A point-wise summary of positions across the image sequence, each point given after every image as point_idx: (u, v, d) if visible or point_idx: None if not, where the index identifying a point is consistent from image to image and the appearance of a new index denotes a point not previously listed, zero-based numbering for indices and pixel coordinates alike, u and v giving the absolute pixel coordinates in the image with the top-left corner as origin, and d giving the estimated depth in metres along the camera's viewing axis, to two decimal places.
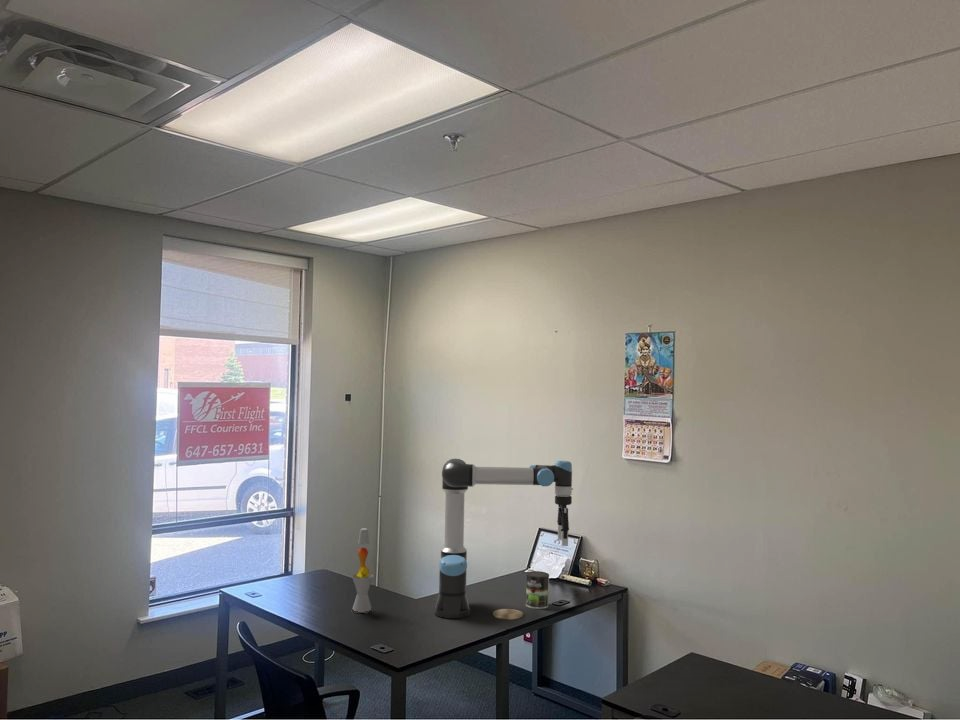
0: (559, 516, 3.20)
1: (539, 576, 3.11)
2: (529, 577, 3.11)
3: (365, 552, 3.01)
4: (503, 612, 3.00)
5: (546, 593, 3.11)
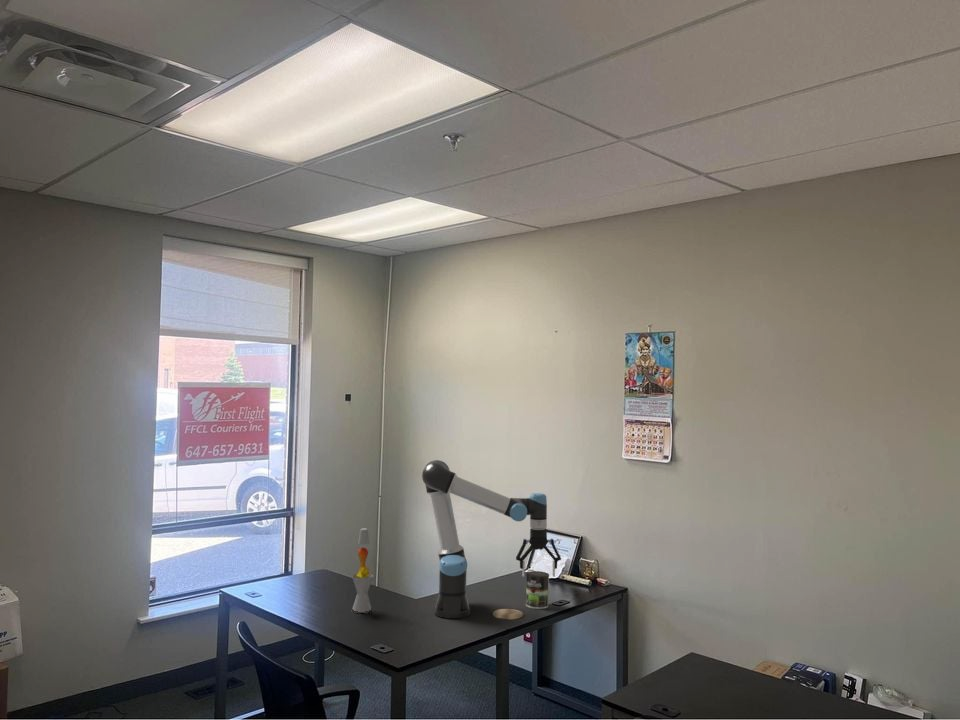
0: None
1: (539, 576, 3.11)
2: (529, 577, 3.11)
3: (365, 552, 3.01)
4: (503, 612, 3.00)
5: (546, 593, 3.11)
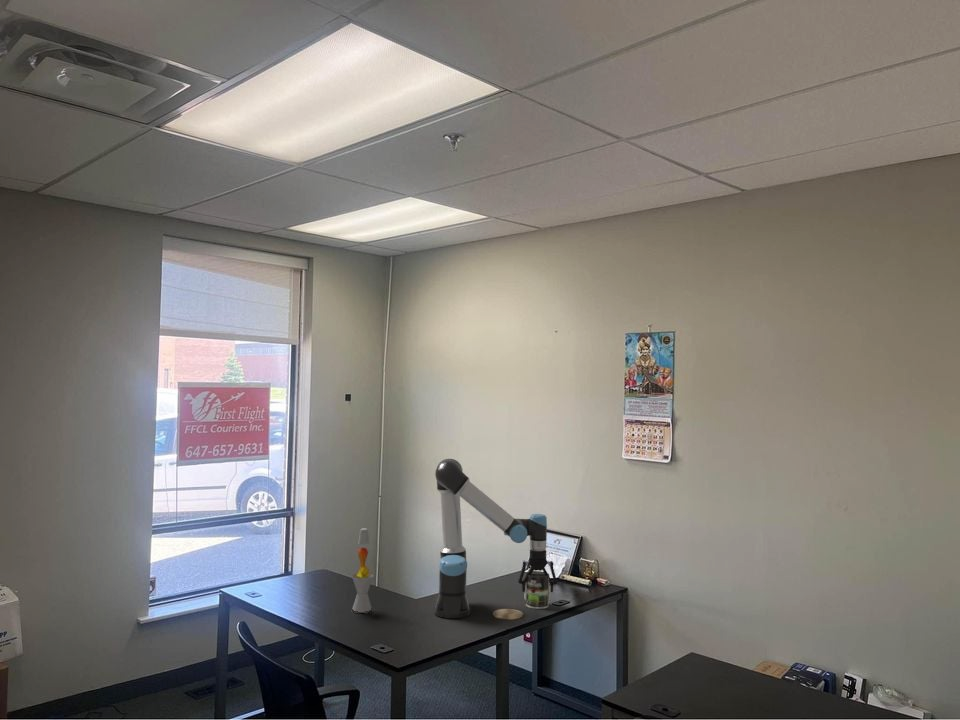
0: None
1: (539, 576, 3.11)
2: (529, 577, 3.11)
3: (365, 552, 3.01)
4: (503, 612, 3.00)
5: (546, 593, 3.11)
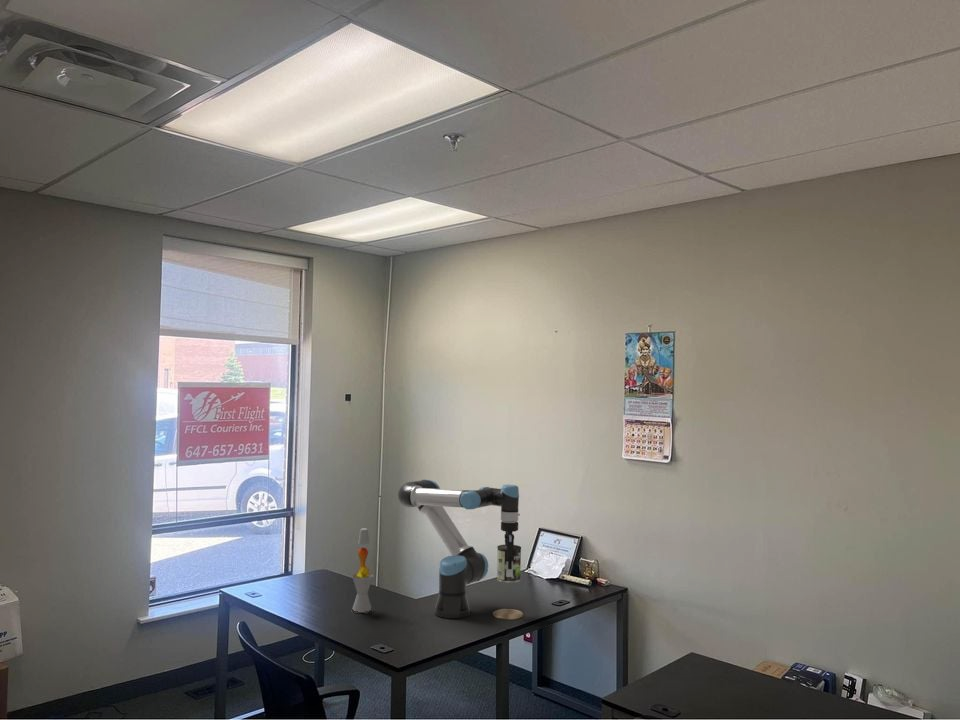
0: None
1: (517, 547, 3.01)
2: (517, 551, 2.97)
3: (365, 552, 3.01)
4: (503, 612, 3.00)
5: None
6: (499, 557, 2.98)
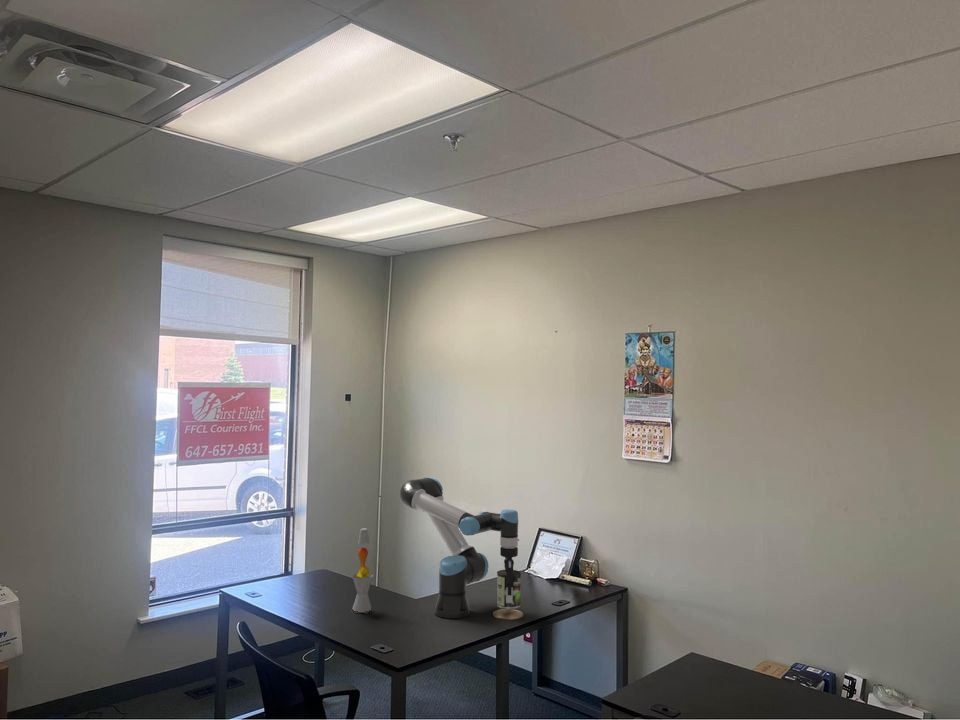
0: None
1: (517, 572, 3.01)
2: (516, 576, 2.96)
3: (365, 552, 3.01)
4: (503, 612, 3.00)
5: None
6: (499, 583, 2.97)
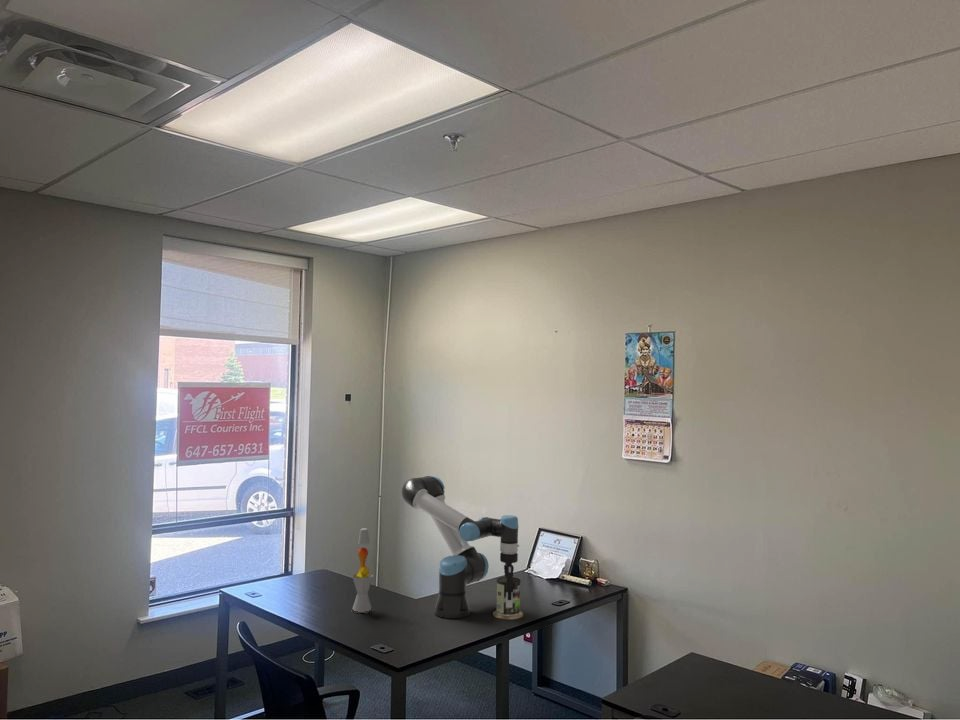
0: None
1: (516, 580, 3.01)
2: (516, 584, 2.96)
3: (365, 552, 3.01)
4: None
5: None
6: (498, 590, 2.98)
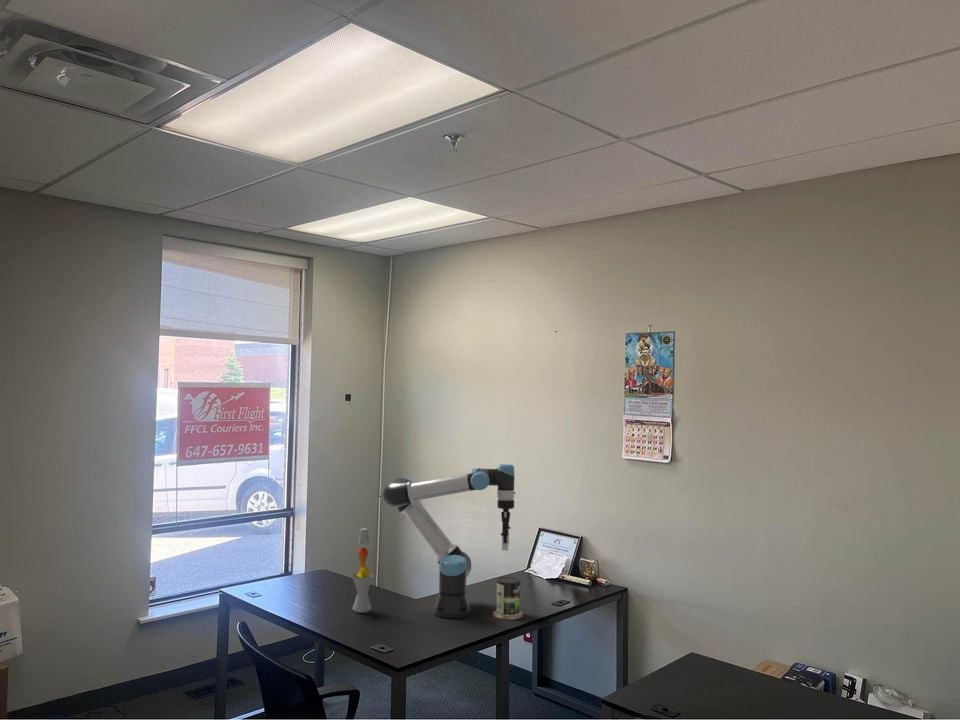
0: None
1: (516, 580, 3.01)
2: (516, 584, 2.96)
3: (365, 552, 3.01)
4: None
5: None
6: (498, 590, 2.97)
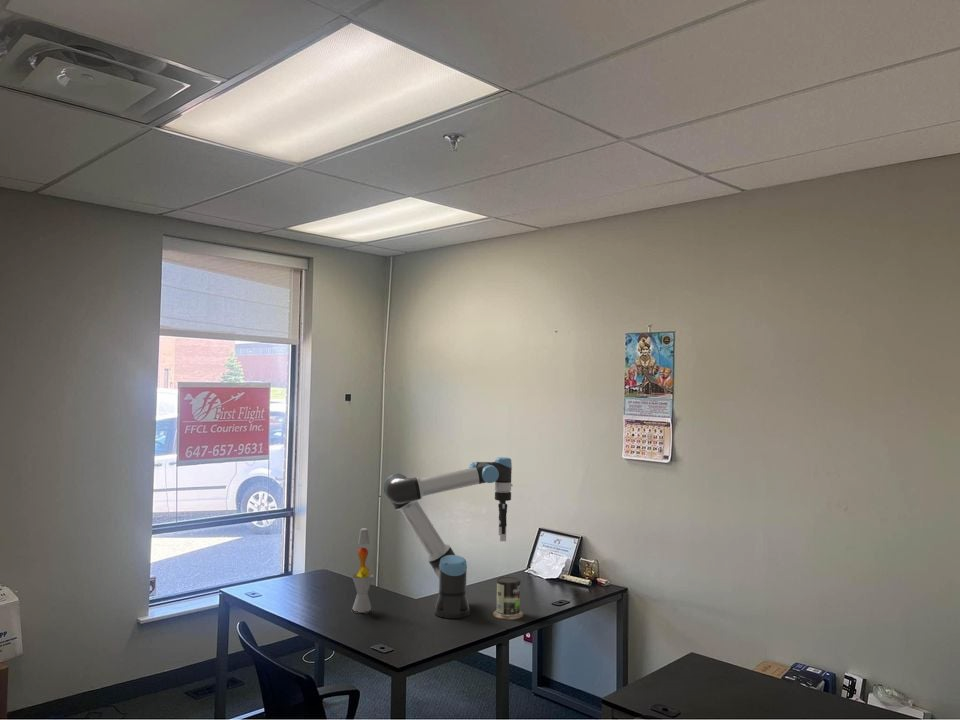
0: None
1: (516, 580, 3.01)
2: (516, 584, 2.96)
3: (365, 552, 3.01)
4: None
5: None
6: (498, 590, 2.98)
